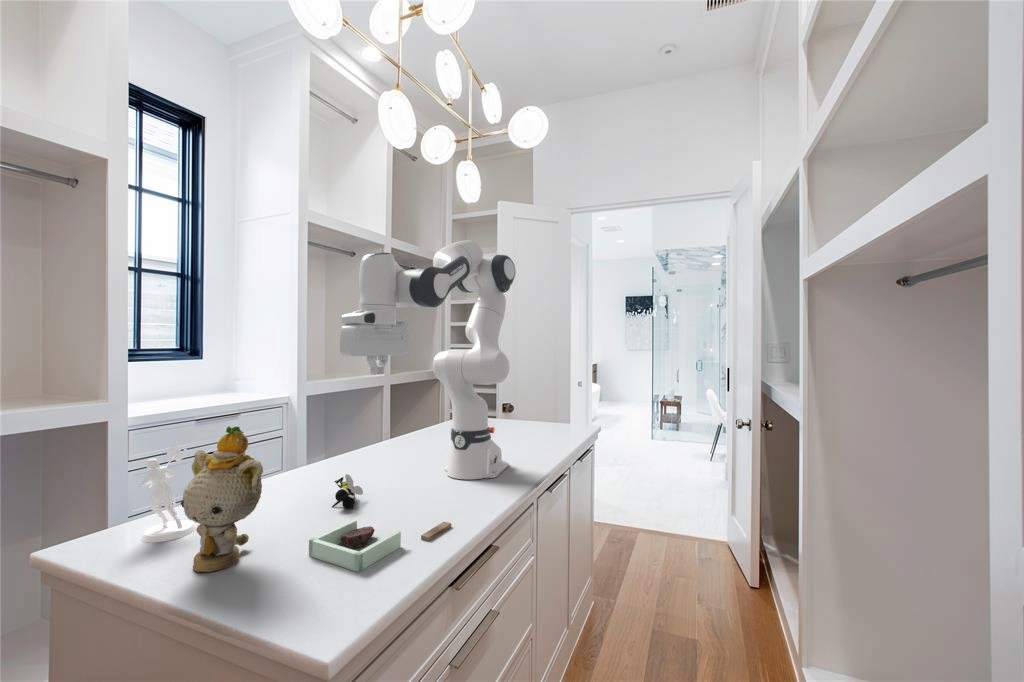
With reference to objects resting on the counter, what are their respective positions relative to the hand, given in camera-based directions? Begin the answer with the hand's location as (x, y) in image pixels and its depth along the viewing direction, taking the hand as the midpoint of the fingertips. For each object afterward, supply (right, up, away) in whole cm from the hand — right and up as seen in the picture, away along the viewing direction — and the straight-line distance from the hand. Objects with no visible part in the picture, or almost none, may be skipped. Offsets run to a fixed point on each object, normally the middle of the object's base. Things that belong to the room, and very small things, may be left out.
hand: (377, 374), depth 107 cm
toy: (-9, -34, +5) cm, 35 cm away
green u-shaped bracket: (+2, -33, -22) cm, 39 cm away
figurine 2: (-20, -33, -26) cm, 47 cm away
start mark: (+17, -33, -13) cm, 39 cm away
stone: (+2, -33, -18) cm, 38 cm away
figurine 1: (-40, -33, -13) cm, 54 cm away
